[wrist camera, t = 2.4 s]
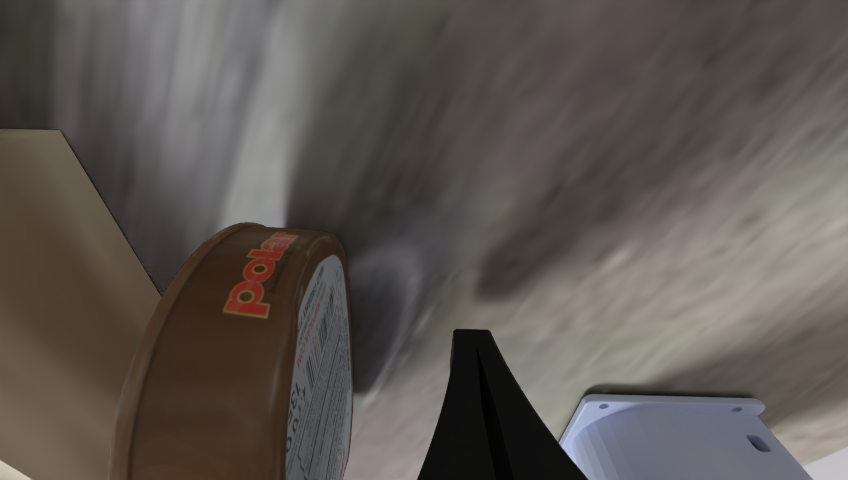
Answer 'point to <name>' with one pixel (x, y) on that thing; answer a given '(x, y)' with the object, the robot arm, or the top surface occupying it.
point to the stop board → (62, 312)
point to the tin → (243, 365)
